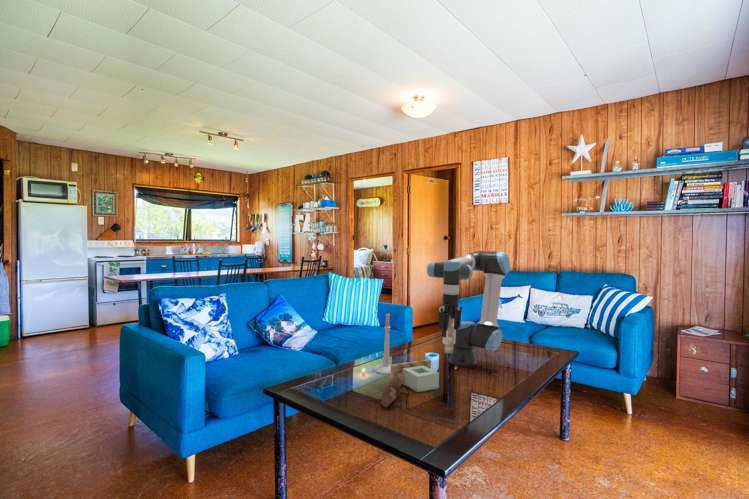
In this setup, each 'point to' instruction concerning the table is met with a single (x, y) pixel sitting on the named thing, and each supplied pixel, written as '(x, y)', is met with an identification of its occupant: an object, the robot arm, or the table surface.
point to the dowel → (450, 336)
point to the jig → (399, 367)
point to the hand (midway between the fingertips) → (448, 343)
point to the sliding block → (420, 378)
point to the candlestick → (385, 352)
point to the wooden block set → (393, 390)
